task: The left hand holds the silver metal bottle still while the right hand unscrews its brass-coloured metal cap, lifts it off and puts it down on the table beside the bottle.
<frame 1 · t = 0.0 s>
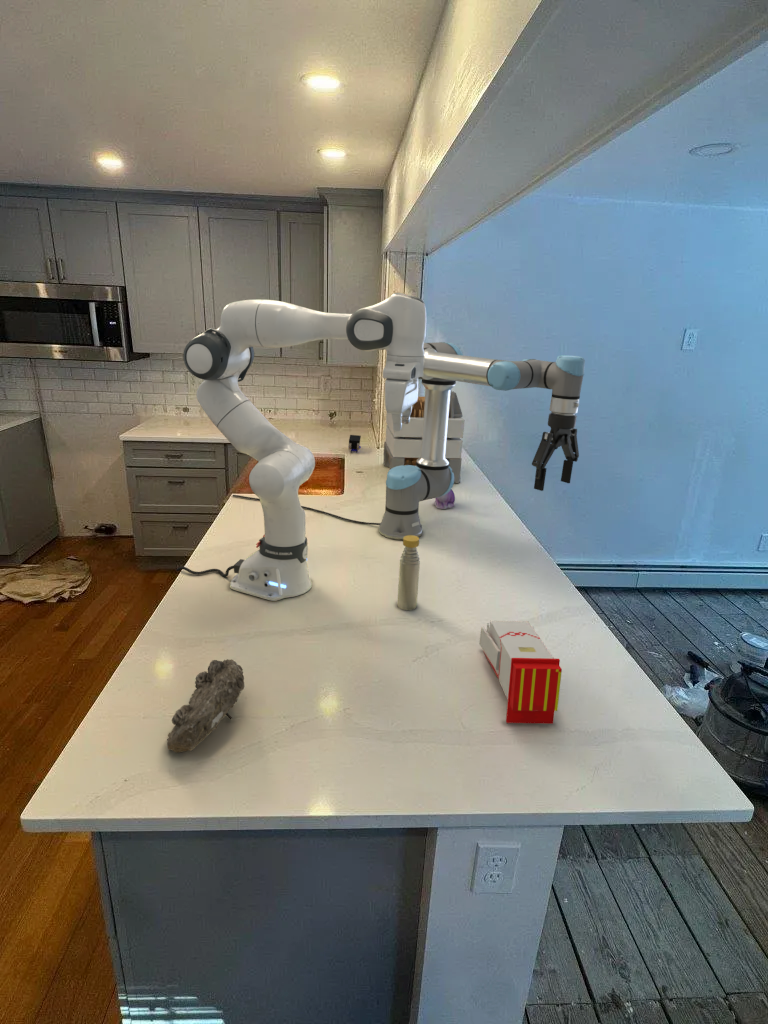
left hand: (401, 426, 137), 48 cm above the counter, tool pointing down, fingers open, 8 cm apart
right hand: (552, 485, 166), 28 cm above the counter, tool pointing down, fingers open, 13 cm apart
figurine character: (354, 450, 312), on the counter
bottle: (407, 605, 152), on the counter
figurine: (444, 506, 230), on the counter
white storage drawers: (419, 473, 275), on the counter
toy: (512, 681, 123), on the counter
cap: (411, 539, 146), point 19 cm above the counter, screwed on, not yet turned
fossil: (212, 717, 108), on the counter
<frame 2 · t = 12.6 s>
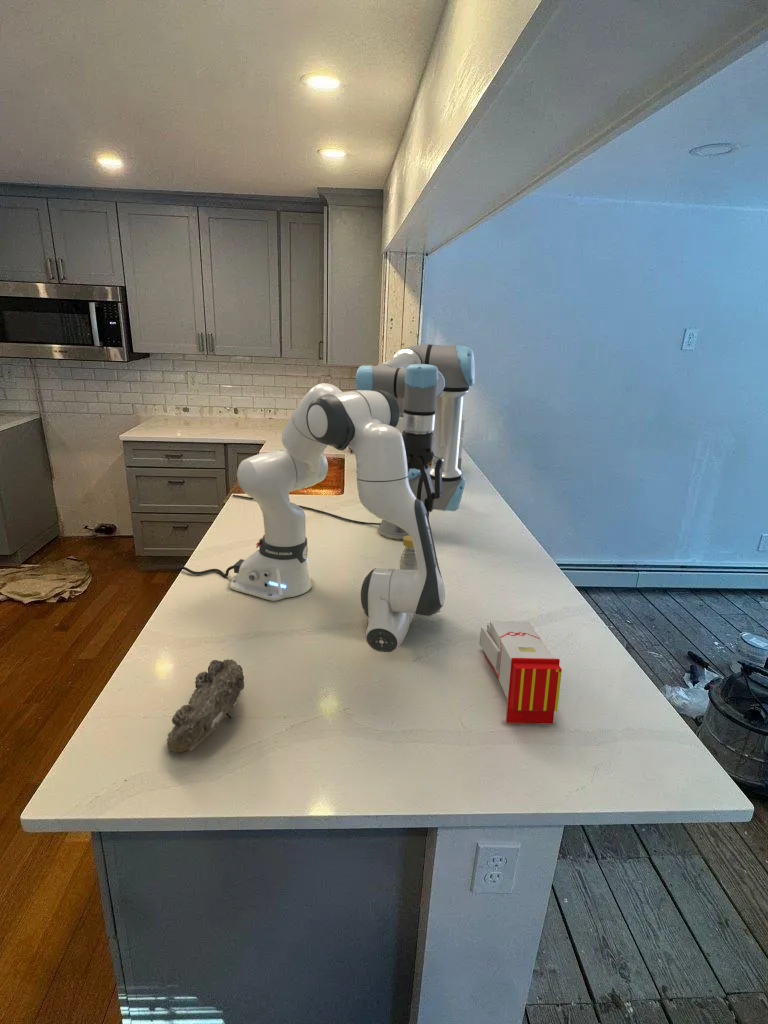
left hand: (408, 582, 151), 6 cm above the counter, tool horizontal, fingers closed on bottle, 5 cm apart
right hand: (412, 520, 144), 24 cm above the counter, tool pointing down, fingers open, 6 cm apart
bottle: (407, 605, 152), on the counter, touching left hand
everything else where it was.
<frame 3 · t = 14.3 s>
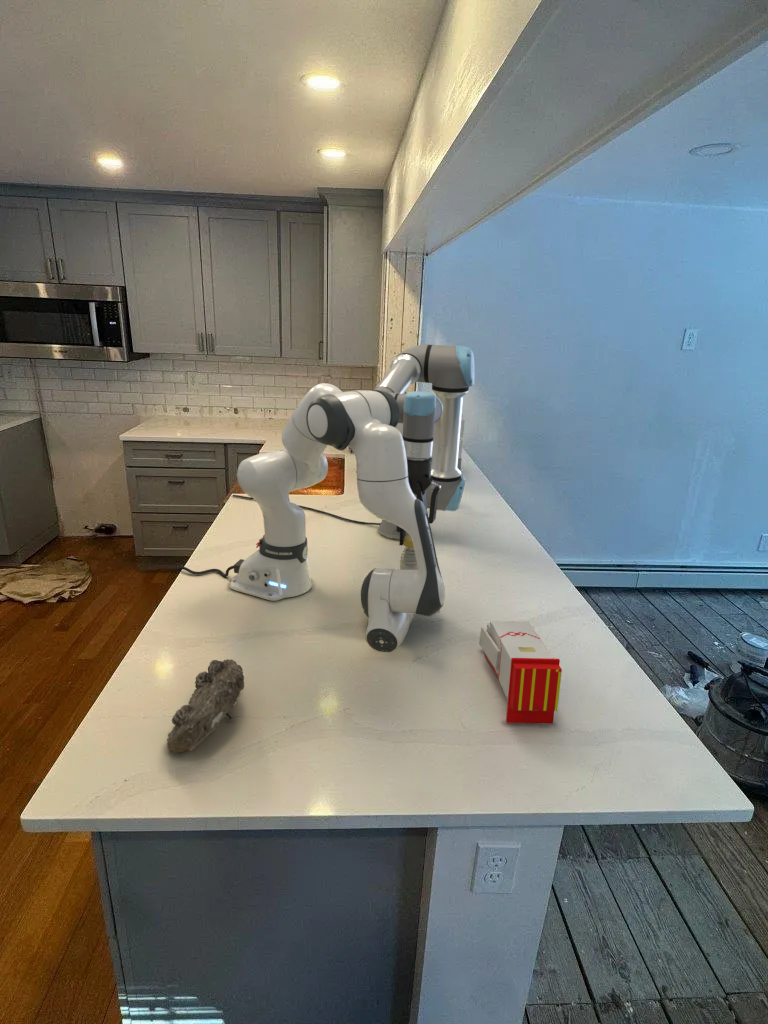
left hand: (408, 582, 151), 6 cm above the counter, tool horizontal, fingers closed on bottle, 5 cm apart
right hand: (410, 544, 146), 18 cm above the counter, tool pointing down, fingers closed on cap, 4 cm apart
bottle: (407, 605, 152), on the counter, touching left hand
cap: (411, 539, 146), point 19 cm above the counter, screwed on, not yet turned, touching right hand
everything else where it was.
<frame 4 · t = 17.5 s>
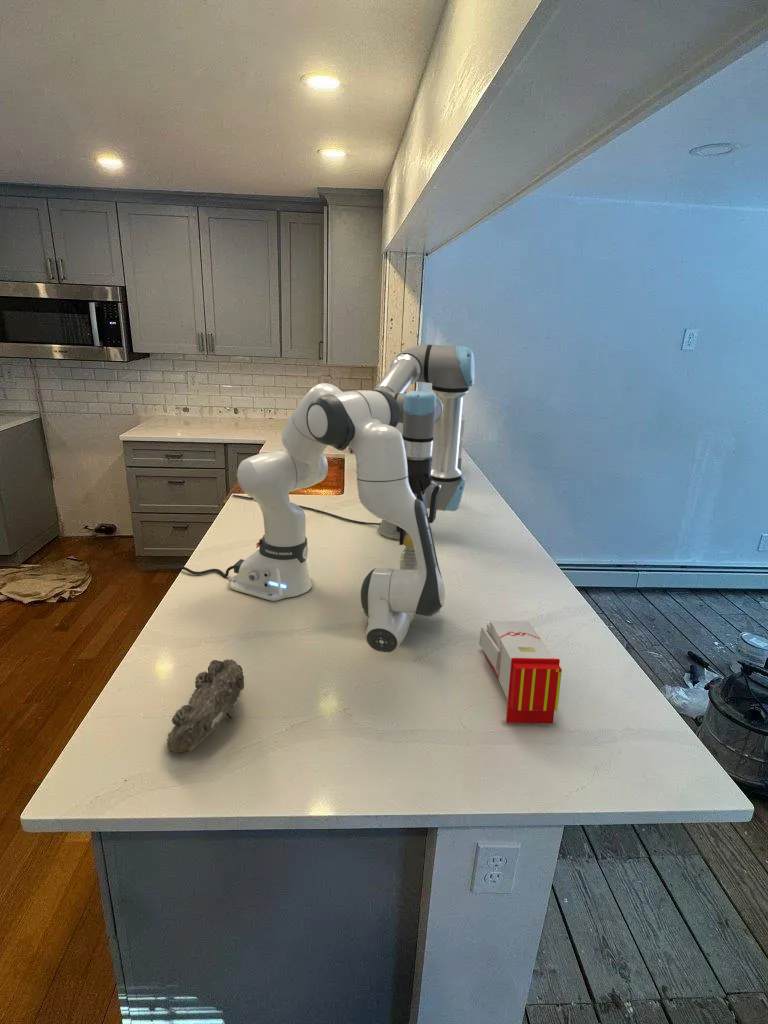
left hand: (408, 582, 151), 6 cm above the counter, tool horizontal, fingers closed on bottle, 5 cm apart
right hand: (410, 544, 146), 18 cm above the counter, tool pointing down, fingers closed on cap, 4 cm apart
bottle: (407, 605, 152), on the counter, touching left hand
cap: (411, 538, 146), point 19 cm above the counter, turned 100° so far, risen 0.1 cm, still on its thread, touching right hand
everything else where it was.
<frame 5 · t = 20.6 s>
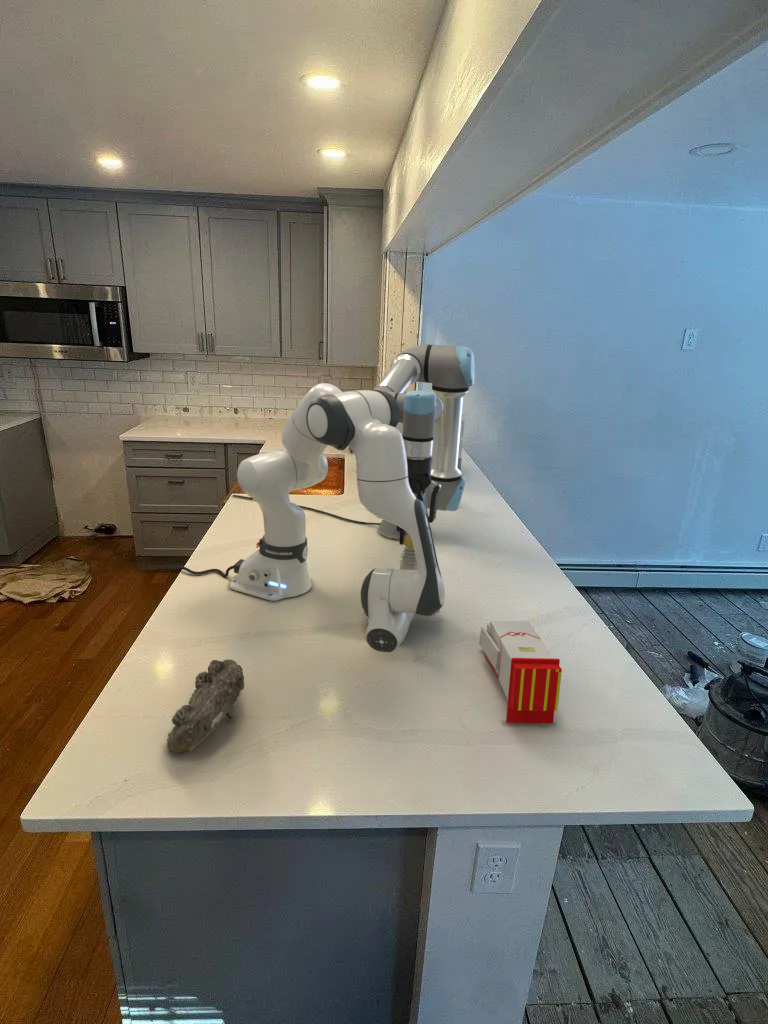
left hand: (408, 582, 151), 6 cm above the counter, tool horizontal, fingers closed on bottle, 5 cm apart
right hand: (410, 544, 146), 18 cm above the counter, tool pointing down, fingers closed on cap, 4 cm apart
bottle: (407, 605, 152), on the counter, touching left hand
cap: (411, 538, 145), point 19 cm above the counter, turned 199° so far, risen 0.2 cm, still on its thread, touching right hand
everything else where it was.
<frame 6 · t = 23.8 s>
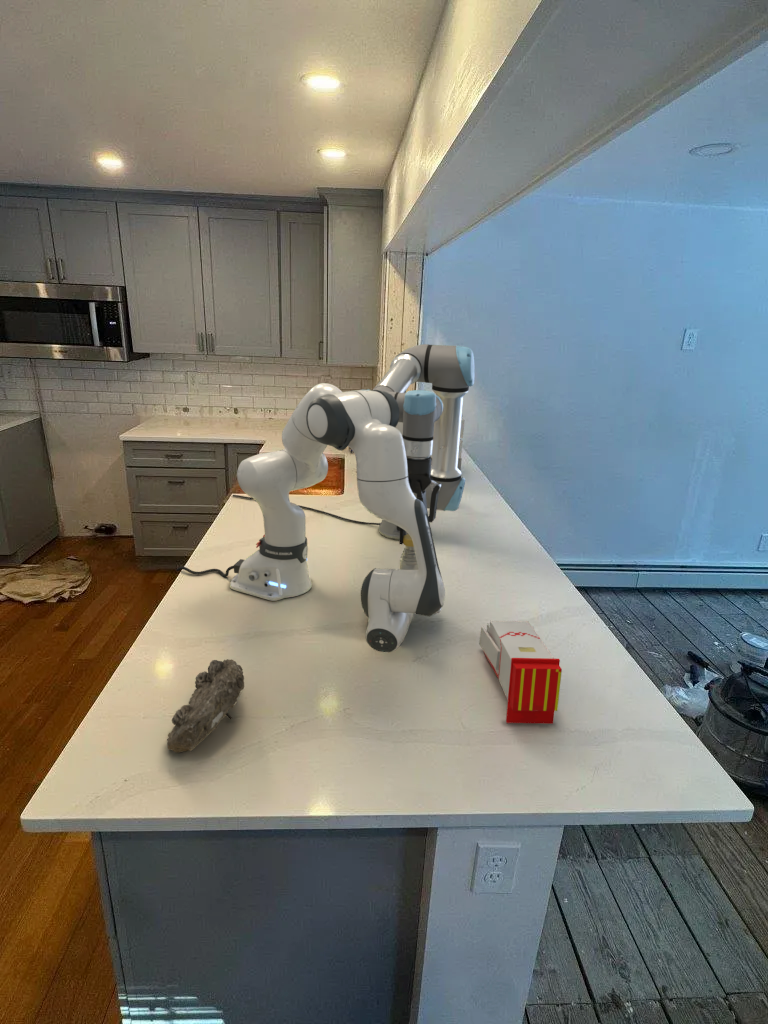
left hand: (408, 582, 151), 6 cm above the counter, tool horizontal, fingers closed on bottle, 5 cm apart
right hand: (410, 543, 146), 18 cm above the counter, tool pointing down, fingers closed on cap, 4 cm apart
bottle: (407, 605, 152), on the counter, touching left hand
cap: (411, 538, 145), point 19 cm above the counter, turned 299° so far, risen 0.3 cm, still on its thread, touching right hand
everything else where it was.
when the right hand's fingers open (1 cm above the counter, at t = 30.1 s): cap drops 1 cm, point 2 cm above the counter.
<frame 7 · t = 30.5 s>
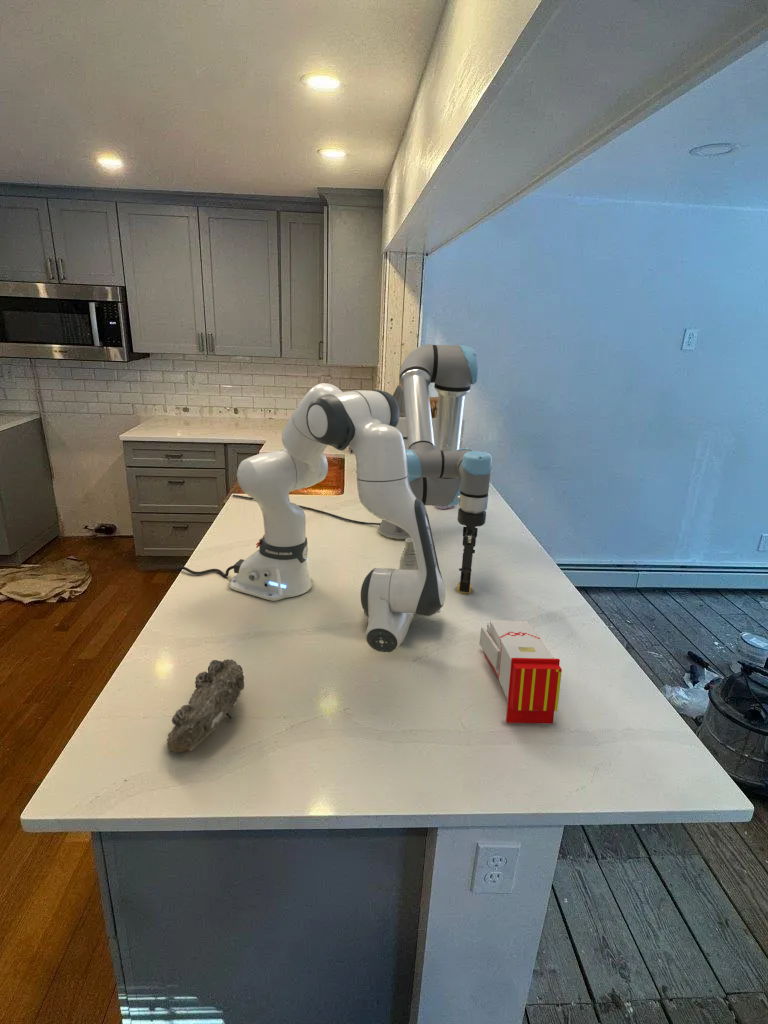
left hand: (408, 582, 151), 6 cm above the counter, tool horizontal, fingers closed on bottle, 5 cm apart
right hand: (464, 582, 161), 2 cm above the counter, tool pointing down, fingers open, 10 cm apart
bottle: (407, 605, 152), on the counter, touching left hand
cap: (464, 585, 161), point 2 cm above the counter, off its thread
everything else where it was.
when the left hand's fingers open (6 cm above the counter, at t = 31.4 s): bottle stays where it is, on the counter.
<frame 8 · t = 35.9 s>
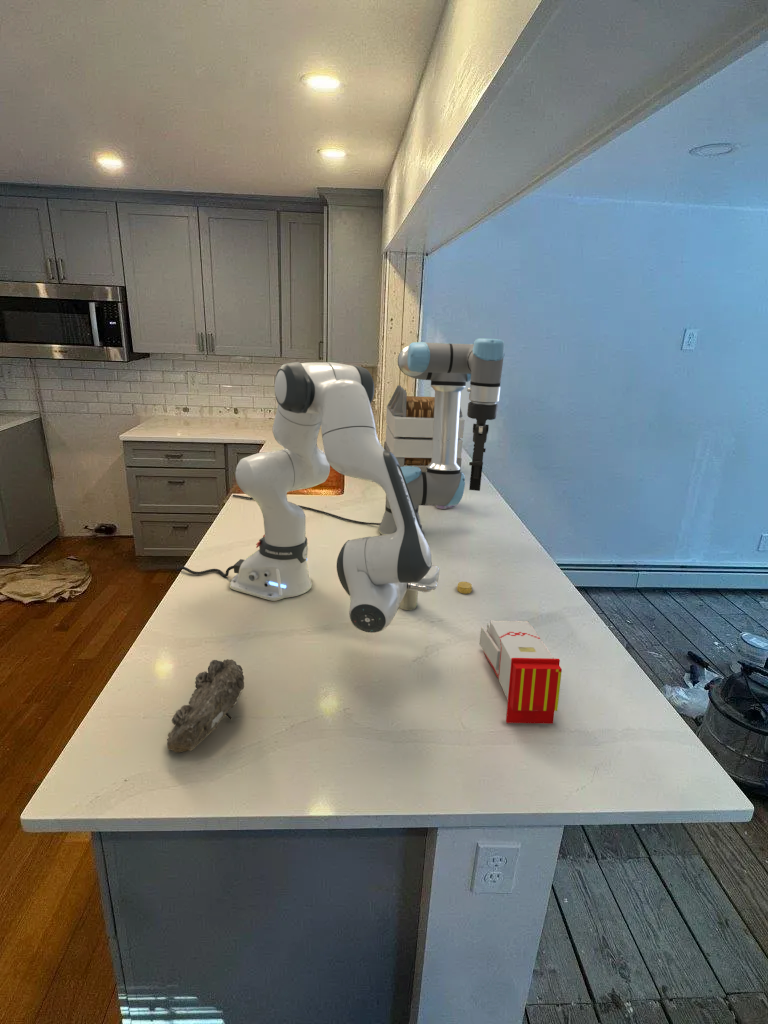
left hand: (400, 558, 135), 19 cm above the counter, tool horizontal, fingers open, 8 cm apart
right hand: (475, 482, 151), 32 cm above the counter, tool pointing down, fingers open, 13 cm apart
bottle: (407, 605, 152), on the counter
everything else where it was.
at the end: cap came off its thread; cap point 1.5 cm above the counter; the left hand is holding nothing; the right hand is holding nothing; bottle tilted 0°; bottle moved 0.0 cm from its start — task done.
